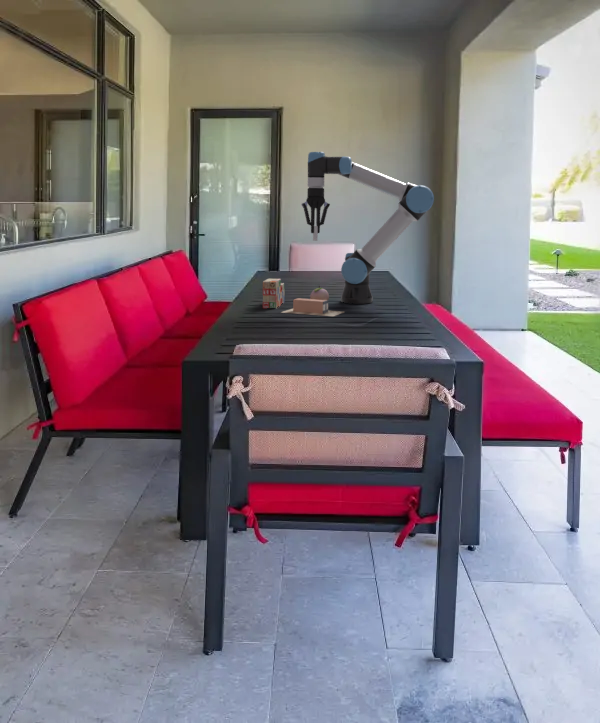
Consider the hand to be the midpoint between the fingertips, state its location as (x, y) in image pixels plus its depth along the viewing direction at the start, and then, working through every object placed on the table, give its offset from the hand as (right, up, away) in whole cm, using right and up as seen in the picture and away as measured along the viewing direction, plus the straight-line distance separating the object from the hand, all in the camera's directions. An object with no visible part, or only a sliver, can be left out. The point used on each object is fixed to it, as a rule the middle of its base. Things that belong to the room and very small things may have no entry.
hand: (315, 240), depth 348 cm
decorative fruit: (+2, -31, -4) cm, 32 cm away
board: (-1, -35, -23) cm, 42 cm away
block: (+4, -32, -25) cm, 41 cm away
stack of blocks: (-19, -30, +3) cm, 35 cm away
